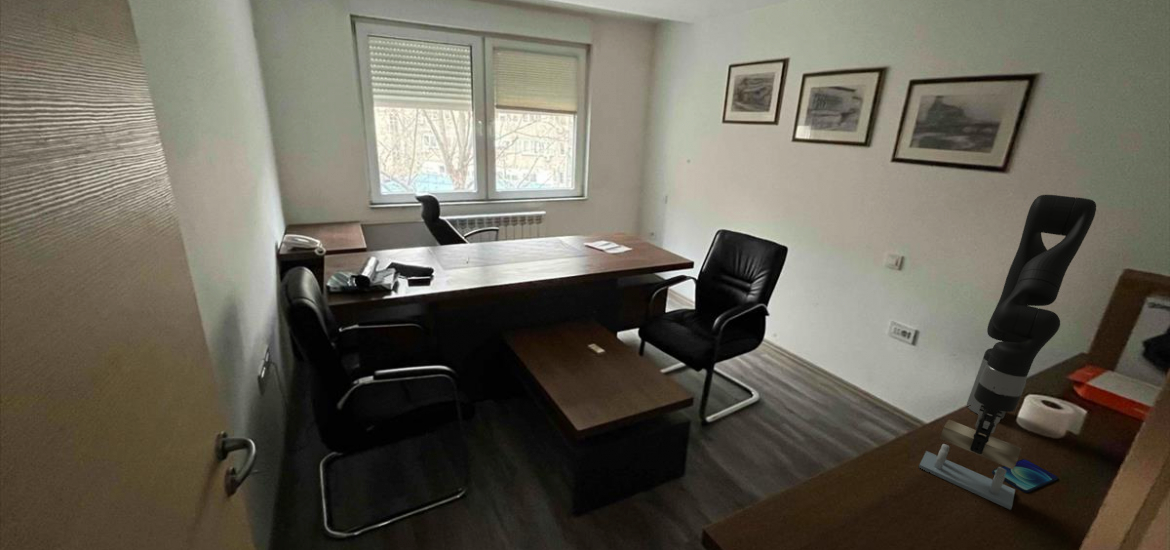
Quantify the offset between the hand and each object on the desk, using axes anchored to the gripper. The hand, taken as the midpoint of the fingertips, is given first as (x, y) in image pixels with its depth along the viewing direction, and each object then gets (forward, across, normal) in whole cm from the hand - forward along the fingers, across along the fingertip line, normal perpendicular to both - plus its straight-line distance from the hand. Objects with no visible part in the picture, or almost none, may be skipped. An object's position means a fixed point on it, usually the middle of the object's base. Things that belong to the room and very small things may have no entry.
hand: (977, 446), depth 110 cm
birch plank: (+1, 0, 0) cm, 1 cm away
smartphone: (+11, -14, +10) cm, 21 cm away
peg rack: (+10, 0, 0) cm, 10 cm away
